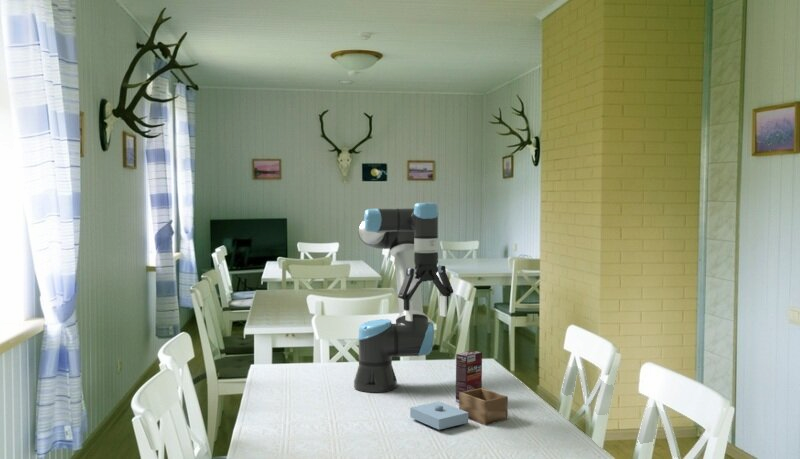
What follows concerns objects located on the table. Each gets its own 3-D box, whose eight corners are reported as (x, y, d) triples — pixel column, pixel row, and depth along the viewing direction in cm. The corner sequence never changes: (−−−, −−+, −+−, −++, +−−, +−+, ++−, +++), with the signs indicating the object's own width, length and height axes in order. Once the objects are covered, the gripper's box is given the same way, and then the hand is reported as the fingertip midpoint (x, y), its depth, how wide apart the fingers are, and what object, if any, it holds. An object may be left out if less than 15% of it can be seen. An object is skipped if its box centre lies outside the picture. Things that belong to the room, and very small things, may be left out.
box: (459, 415, 222) (459, 392, 221) (481, 409, 227) (481, 387, 226) (485, 425, 212) (485, 401, 212) (507, 419, 217) (507, 396, 217)
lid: (410, 420, 217) (410, 404, 217) (439, 413, 223) (438, 398, 223) (438, 433, 206) (438, 415, 205) (468, 425, 212) (468, 409, 212)
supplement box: (466, 404, 232) (466, 356, 231) (455, 401, 236) (455, 354, 235) (482, 399, 239) (482, 351, 238) (471, 396, 242) (471, 349, 241)
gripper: (400, 254, 217) (401, 324, 218) (464, 250, 231) (464, 315, 232) (386, 252, 223) (387, 320, 224) (449, 248, 237) (449, 312, 238)
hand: (426, 318), depth 228 cm, fingers open, 13 cm apart
